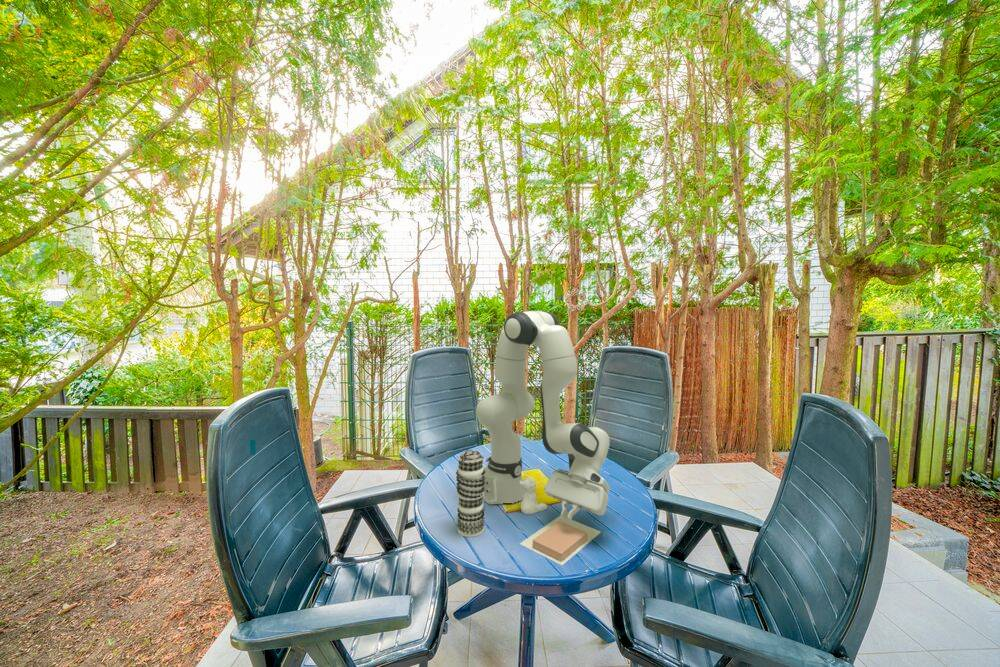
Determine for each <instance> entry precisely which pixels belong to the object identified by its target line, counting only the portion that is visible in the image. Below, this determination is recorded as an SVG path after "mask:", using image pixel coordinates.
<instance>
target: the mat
mask: <svg viewBox="0 0 1000 667" xmlns="http://www.w3.org/2000/svg"><path fill="white" fill-rule="evenodd" d="M559 521H560V522H563V523H565V524H567V525H570V526H572V527H575V528H577V529H579V530H582V531H584V532H587V540H586V541H584V542H583V543H582V544H581V545H580V546H579V547H577V548H576V549H575V550H574V551H573V552H571V553H570V554H569V555H568V556H567V557H566V558H564V559H563V560H562V561H560V560H558V559H556V558H554V557H552V556H550V555H548V554H546V553H544V552H542V551H540V550H538V549H536V548H534V547H533V539H535V538H536V537H538V536H539V535H540V534H542V533H543V532H545V531H546V530H547V529H549V528H550V527H552V526H553V525H554V524H556V523H557V522H559ZM601 533H602V532H601V531H600V530H597V529H595V528H593V527H590V526H588V525H586V524H583V523H580V522H578V521H577V520H573V519H571V520H568V519H566V518H563V517H562V516H561V514H560V515H559V516H557V517H556V518H554V519H553V520H552V521H550V522H549V523H548V524H546V525H544V526H543V527H542V528H540V529H538V530H537V531H536V532H534V533H533V534H531V535H530V536H528V537H527V538H526V539H524V540H523V541H521V542H519V545H521V546H523V547H525V548H527V549H529V550H530V551H532V552H535V553H536V554H539V555H541V556H543V557H544V558H547V559H549V560H550V561H553V562H554V563H557V564H558V565H560V566H564V565H565V564H566V563H567V562H568V561H569V560H570V559H572V558H573V557H574V556H576V554H577V553H578V552H580V551H581V550H582V549H583V548H584V547H585V546H587V545H588V544H589V543H591V542H592V541H593V539H595V538H596V537H597V536H598V535H599V534H601Z"/></svg>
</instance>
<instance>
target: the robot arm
mask: <svg viewBox="0 0 1000 667" xmlns="http://www.w3.org/2000/svg"><path fill="white" fill-rule="evenodd" d="M532 344H534V345H536V346H537V348H538V349H539V354H540V357H541V364H542V379H541V383H540V401H541V411H542V412H541V413H542V432H541V433H542V434H541V440H542V443H543V446H544V448H545V450H546V451H547V452H548V453H550V454H551V455H563V454H566V455H568V454H573V455H574V456H575V460H574V461H573V464H572V466H571V468H570V471H569V470H568V471H567V470H563V469H561V468H559V469H555V470H553V472H552V474H551V476H550V477H549V479H548V481H547V482H546V484H545V486H544V493H545V494H546V495H547V496H548V497H550V498H552V499H555V500H558V501H560V502H561V508H562V510H561V513H560V515H561V516H562V517H563V518H566V519H568V520H573V517H574V516H575V515H576V514H577V513H578V512H579V511H580V509H582V510H585V511H587V512H590V513H592V514H594V515H597V516H603V515H604V514H605V513H606V510H607V507H608V503H609V493H610V491H611V487H610V485H609V483H608V482H607V481H606V479H605V478H603V477H602V476H601V475H600V472H601V468H602V465H603V464H604V463H605V462H606V458H607V456H608V452H609V448H610V444H611V441H610V436H609V434H608V432H606V431H605V430H604V429H602V428H600V427H598V426H587V425H586V424H585V423H581V422H580V423H578V422H577V423H576V422H571V423H570V422H569V423H564V422H563V421H562V419H561V408H560V395H561V392H562V391H563V390H564V389H565V388H566V387H568V386H569V385H570V384H572V382H573V381H574V380H575V379H576V376H577V374H578V361H577V358H576V357H577V356H576V353H575V349H574V345H573V342H572V339H571V337H570V334H569V332H568V330H567V329H566V327H564V326H562V325H560V322H559V319H558V317H557V316H556V315H555V314H554V313H553V312H550V311H547V310H528V311H518V312H514V313H511V314H510V315H508V316H507V318H506V319H505V321H504V323H503V329H502V330H501V331H500V335H499V338H498V341H497V346H496V351H495V352H496V353H495V362H494V374H493V375H494V377H495V379H496V380H497V381H498V382H499V383H501V388H502V390H501V392H500V393H497V394H492V395H488V396H487V397H483V399H481V400H480V401H479V402H477V404H476V407H475V414H476V418H477V420H478V422H479V423H480V424H481V425H482V426H484V427H485V428H486V430H487V432H488V434H489V439H490V452H491V453H490V456H489V457H487V458H486V459H485V462H486V463H487V462H488V463H487V465H486V466H485V467H483V469H484V470H485V474H484V475H483V476H484V477H485V479H484V482H485V484H484V485H483V487H484V488H485V490H484V496H483V502H485V503H487V505H498V504H500V505H504V504H503V503H512V504H515V503H514V502H516V503H519V502H522V500H523V494H524V493H525V490H524V488H522V486H521V485H520V481H523V476H522V470H523V459H522V456H521V455H522V454H521V453H522V448H521V447H522V440H521V437H520V436H519V434H517V433H516V432H515V431H513V426H512V424H513V422H514V421H517V420H518V421H519V420H521V419H523V418H525V417H527V416H528V415H529V414H531V413H533V411H534V408H535V401H534V397H533V396H532V394H531V392H529V391H528V389H527V385H526V364H527V356H528V355H527V353H528V346H531V345H532ZM518 501H519V502H518ZM570 505H571V506H572V508H571V509H570V510H569V511H567V508H568V507H569V506H570Z"/></svg>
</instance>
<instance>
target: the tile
mask: <svg viewBox="0 0 1000 667" xmlns="http://www.w3.org/2000/svg"><path fill="white" fill-rule="evenodd" d="M586 540H587V532H584V531H582V530H579V529H577V528H575V527H572V526H570V525H567V524H565V523H563V522H560V521H559V522H557V523H556V524H554V525H553V526H552V527H550V528H549V529H547V530H546V531H545V532H543V533H542V534H540V535H539V536H538V537H536V538H535V539H533V547H534V548H536V549H538V550H540V551H542V552H544V553H546V554H548V555H550V556H552V557H554V558H556V559H558V560H560V561H562V560H563V559H564V558H566V557H567V556H568V555H569V554H570V553H571V552H573V551H574V550H575V549H576V548H577V547H579V546H580V545H581V544H582V543H583V542H584V541H586Z"/></svg>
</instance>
